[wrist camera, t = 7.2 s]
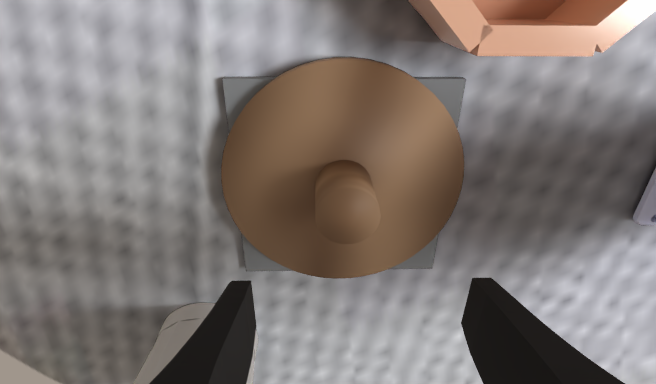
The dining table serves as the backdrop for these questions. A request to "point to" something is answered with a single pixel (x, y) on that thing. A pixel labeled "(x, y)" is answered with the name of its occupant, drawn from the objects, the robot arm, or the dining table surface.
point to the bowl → (533, 24)
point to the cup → (179, 340)
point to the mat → (245, 88)
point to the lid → (342, 168)
